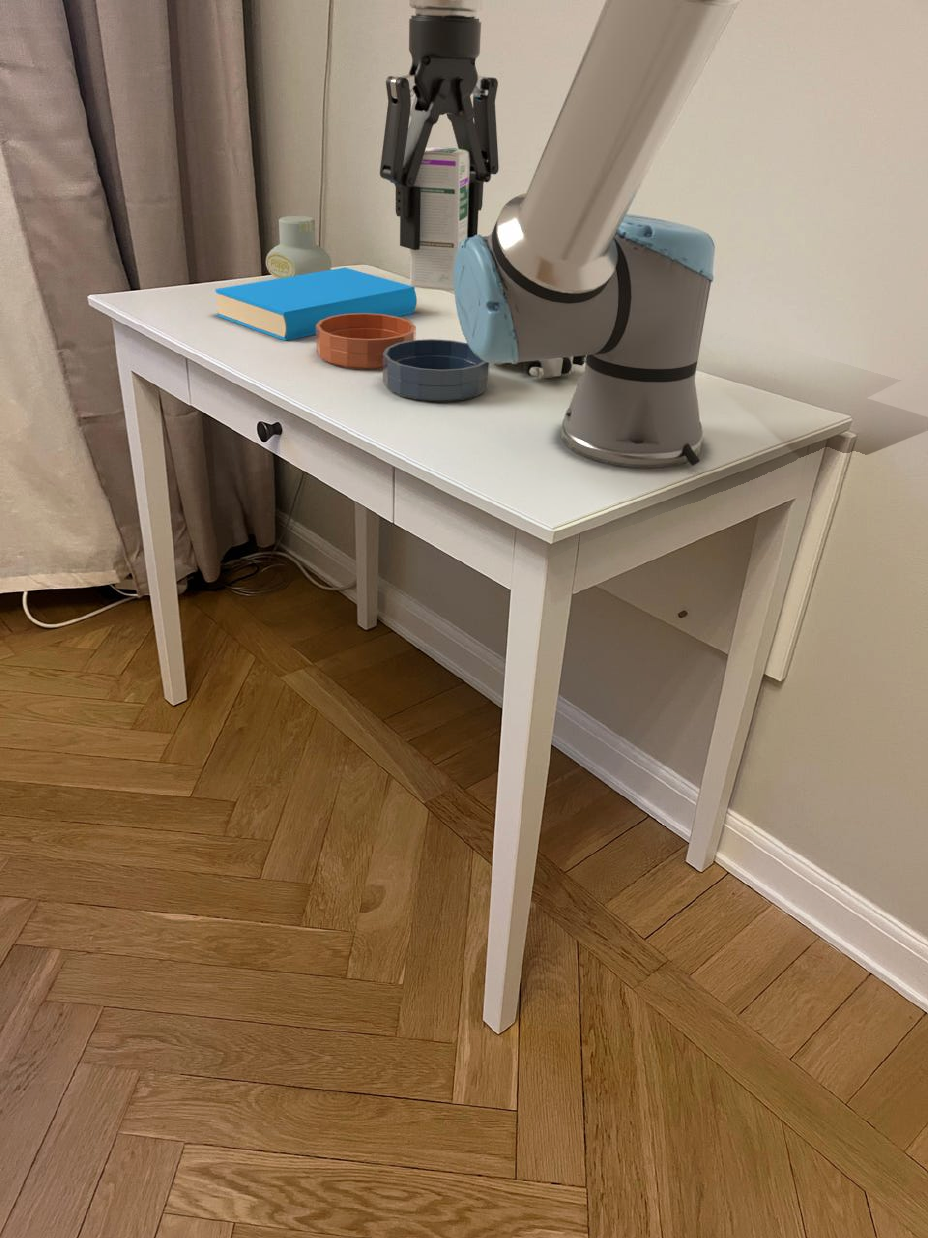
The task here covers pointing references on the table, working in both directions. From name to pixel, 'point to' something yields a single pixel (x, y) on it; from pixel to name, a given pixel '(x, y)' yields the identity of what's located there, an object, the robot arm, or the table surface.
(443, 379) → the slate bowl
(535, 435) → the table surface
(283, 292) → the book
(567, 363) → the robot toy
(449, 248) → the syrup box
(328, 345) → the terracotta bowl
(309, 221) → the air freshener
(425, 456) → the table surface
